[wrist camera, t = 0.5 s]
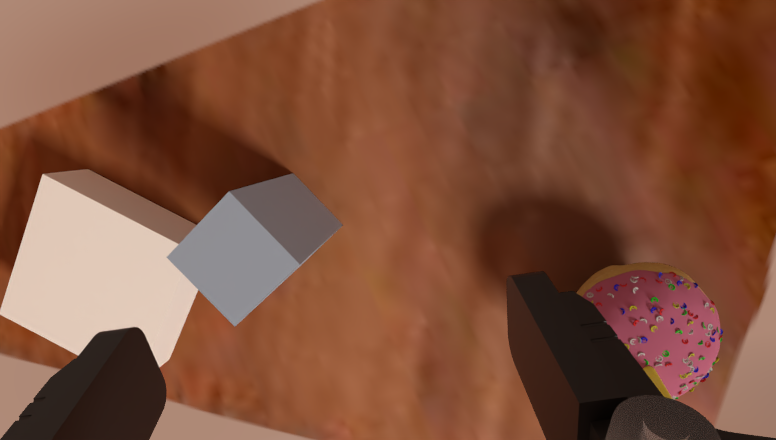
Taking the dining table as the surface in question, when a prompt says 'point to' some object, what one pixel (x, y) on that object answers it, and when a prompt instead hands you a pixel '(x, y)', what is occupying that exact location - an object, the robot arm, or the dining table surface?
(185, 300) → the base
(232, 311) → the block
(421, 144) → the dining table surface
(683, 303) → the cupcake
